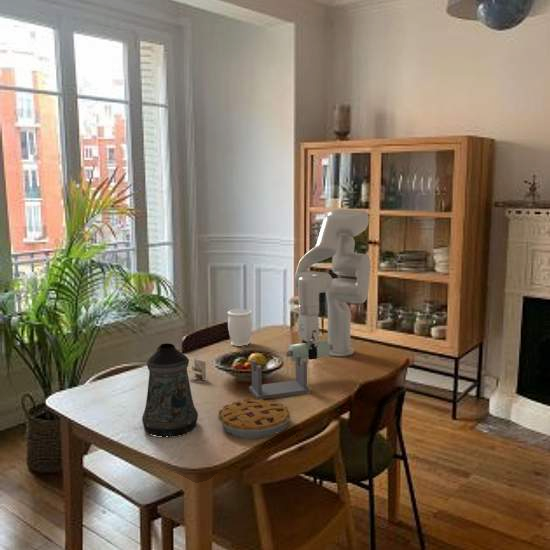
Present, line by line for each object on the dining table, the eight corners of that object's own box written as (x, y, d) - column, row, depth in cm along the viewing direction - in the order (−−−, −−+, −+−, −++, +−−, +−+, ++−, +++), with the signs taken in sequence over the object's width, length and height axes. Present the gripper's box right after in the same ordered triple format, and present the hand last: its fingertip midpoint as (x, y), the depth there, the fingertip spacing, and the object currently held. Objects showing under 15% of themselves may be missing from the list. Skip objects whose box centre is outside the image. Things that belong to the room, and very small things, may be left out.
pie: (239, 448, 162) (239, 431, 161) (206, 420, 180) (205, 405, 179) (304, 429, 173) (304, 413, 172) (266, 405, 192) (266, 390, 191)
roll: (284, 358, 217) (283, 343, 216) (328, 352, 222) (328, 337, 221) (289, 364, 211) (289, 348, 210) (334, 357, 217) (335, 342, 216)
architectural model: (199, 383, 213) (199, 363, 212) (186, 379, 217) (185, 360, 216) (206, 380, 216) (205, 361, 214) (193, 376, 220) (192, 357, 218)
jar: (225, 347, 255) (225, 313, 252) (231, 340, 265) (230, 308, 262) (249, 348, 253) (249, 314, 250) (254, 341, 263) (253, 309, 260)
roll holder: (249, 389, 205) (248, 359, 203) (299, 382, 211) (299, 353, 209) (257, 399, 196) (256, 368, 194) (309, 392, 202) (309, 362, 200)
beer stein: (166, 443, 165) (162, 359, 160) (125, 425, 177) (121, 346, 173) (209, 424, 177) (206, 345, 173) (168, 408, 189) (165, 334, 185)
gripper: (291, 304, 220) (292, 350, 224) (308, 316, 204) (308, 365, 208) (309, 302, 222) (310, 347, 226) (327, 314, 206) (328, 362, 210)
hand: (309, 355), depth 217 cm, fingers closed on roll, 6 cm apart
